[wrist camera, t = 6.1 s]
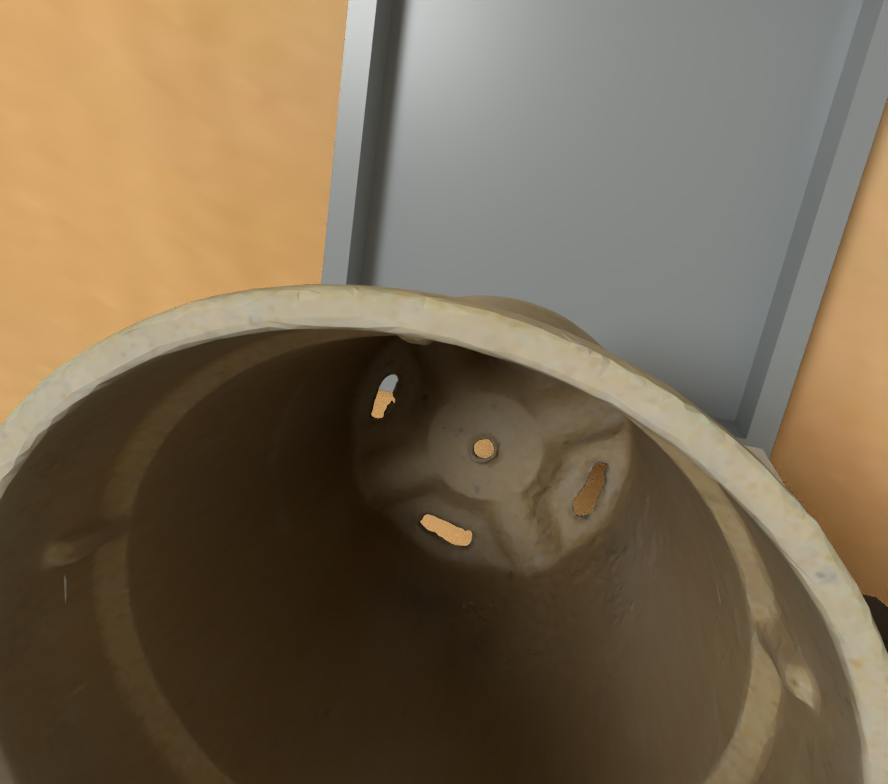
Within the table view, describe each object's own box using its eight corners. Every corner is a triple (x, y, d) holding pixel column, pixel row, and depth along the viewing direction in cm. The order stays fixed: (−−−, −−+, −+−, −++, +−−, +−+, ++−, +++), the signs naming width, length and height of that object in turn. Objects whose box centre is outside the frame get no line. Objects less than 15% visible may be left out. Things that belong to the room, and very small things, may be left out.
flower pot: (298, 611, 17) (47, 1013, 9) (247, 217, 14) (-189, 296, 6) (701, 643, 15) (832, 1177, 7) (736, 200, 12) (1021, 276, 4)
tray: (747, 441, 29) (766, 469, 26) (336, 357, 31) (312, 375, 29) (901, -50, 23) (946, -81, 21) (386, -108, 26) (362, -144, 23)
